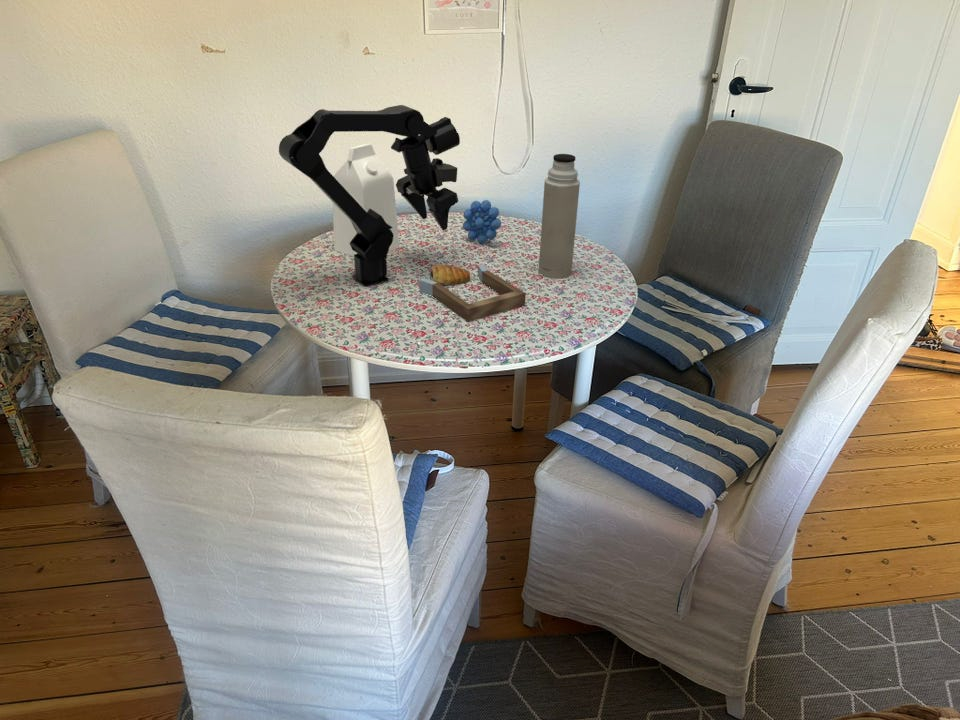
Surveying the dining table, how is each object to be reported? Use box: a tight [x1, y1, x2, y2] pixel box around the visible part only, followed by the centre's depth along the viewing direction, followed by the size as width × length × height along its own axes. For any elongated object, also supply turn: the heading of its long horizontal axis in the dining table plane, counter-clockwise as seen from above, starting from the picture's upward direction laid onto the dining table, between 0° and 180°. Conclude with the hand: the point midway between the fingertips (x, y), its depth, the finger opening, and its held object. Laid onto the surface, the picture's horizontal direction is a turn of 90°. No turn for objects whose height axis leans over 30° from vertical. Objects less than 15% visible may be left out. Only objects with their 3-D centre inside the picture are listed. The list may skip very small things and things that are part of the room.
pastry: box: [429, 264, 471, 287], centre depth 168 cm, size 9×7×4 cm
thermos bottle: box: [538, 153, 581, 279], centre depth 167 cm, size 8×8×28 cm
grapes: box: [462, 199, 502, 245], centre depth 187 cm, size 12×7×12 cm, turn 56°
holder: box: [418, 263, 527, 323], centre depth 160 cm, size 18×18×3 cm
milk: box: [332, 142, 400, 258], centre depth 178 cm, size 12×12×26 cm
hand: (434, 223), depth 171 cm, fingers open, 9 cm apart
